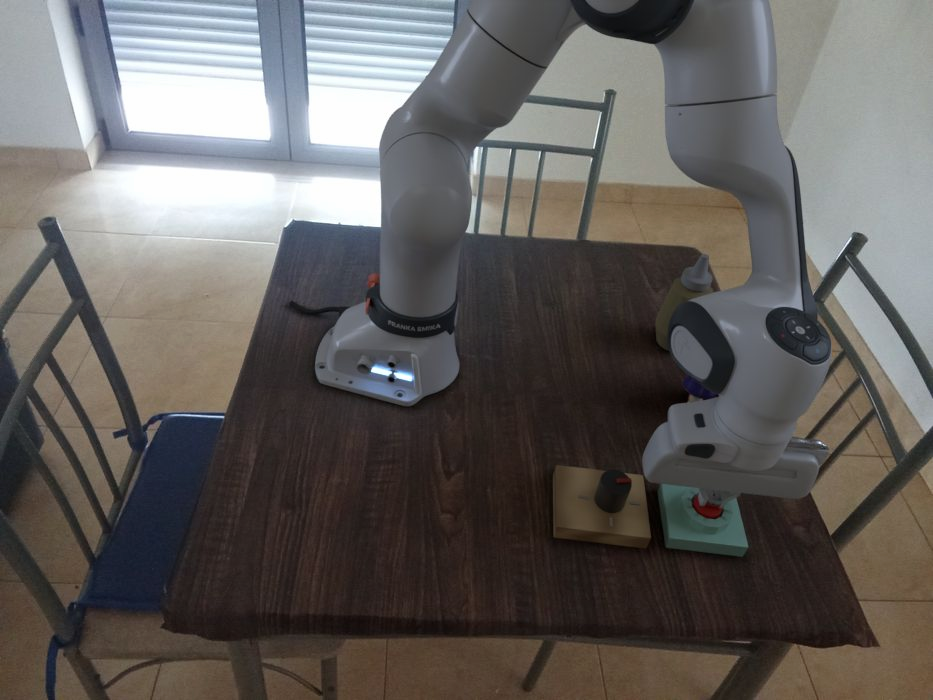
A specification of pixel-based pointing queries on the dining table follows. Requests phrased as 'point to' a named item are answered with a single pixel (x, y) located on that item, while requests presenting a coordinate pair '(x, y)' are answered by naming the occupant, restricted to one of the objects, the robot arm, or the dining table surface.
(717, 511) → the power button
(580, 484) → the dimmer panel
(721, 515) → the switch block
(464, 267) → the dining table surface
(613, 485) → the dimmer knob
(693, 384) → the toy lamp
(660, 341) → the squeeze bottle
